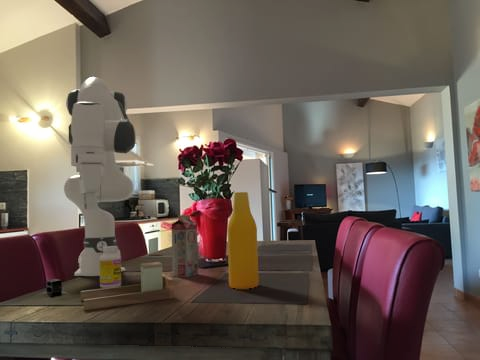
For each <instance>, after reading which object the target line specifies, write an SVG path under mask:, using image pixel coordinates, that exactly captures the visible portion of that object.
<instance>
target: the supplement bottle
mask: <svg viewBox="0 0 480 360" xmlns="http://www.w3.org/2000/svg"><path fill="white" fill-rule="evenodd" d="M118 249H119V246H117V245H115V246H106V247H103V252H104V254H103V255H102V256H101V257H100V276H99V286H100V289H103V288H111V287H119V286H122V271H121V267H122V255H121V254H120V255H119V254H118V253H117V251H118Z"/></svg>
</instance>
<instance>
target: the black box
mask: <svg viewBox="0 0 480 360" xmlns="http://www.w3.org/2000/svg"><path fill="white" fill-rule="evenodd" d="M62 287H63V283H62V280H61V279H57V278H54V279H48V280H46V287H45V289H46V291H45V292H39V293H38V294H39V295H41V296H44V297H48V298H51V299H52V298H56V297H55V296H57V297H61V295H62V296H66V295H65V294H67V295H69V294H68V292H64V291H63V288H62Z"/></svg>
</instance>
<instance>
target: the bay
mask: <svg viewBox="0 0 480 360" xmlns="http://www.w3.org/2000/svg"><path fill="white" fill-rule="evenodd" d="M162 277H163V289H161V290H153V291H145V292H141V283H139V284H138V283H137V284H129V285H120V286H118V287H111V288H96V289H87V290H80V302H83V311H90V310H97V309H105V308H112V307H118V306H127V305H131V304H140V303H146V302H149V303H150V302H155V301H160V300H161V301H162V300H170V299H174V298H175V280H174V279H173V278H172V277H170V276H168V275H167V274H164V272H162Z"/></svg>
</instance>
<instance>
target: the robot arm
mask: <svg viewBox="0 0 480 360" xmlns="http://www.w3.org/2000/svg"><path fill="white" fill-rule="evenodd" d="M65 106H66V109H67V112H68V114H69V115H70V116H71V121H70V122H71V123H70V124H69V125H68V143H69V144H70V145H71V147H70V163H71V165H70V166H72V167H75V169H76V170H75V171H76V173H79V174H77V175H76V174H75V175H72V176H71V175H70V176H69V177H68V178H67V179H66V181H65V183H64V185H63V186H64V187H63V191H64V192H63V193H64V195H65V197H66V198H67V199H68V200H69V201H70V202H71V203H74V205H76V206H77V208H78V209H79V211H80V212H81V214H82V217H83V222H84V238H83V248H84V249H83V250H82V251H81V253H79V254H80V255H79V256H78V261H77V262H78V263H77V264H78V267H79V268H78V269H77V270H76V271H75V272H74V275H73V277H74V276H75V277H80V276H81V277H82V276H83V277H100V257H101V256H102V255H103V254H104V252H103V247H106V246H117V239H116V238H117V236H116V235H115V233H116V231H115V229H116V227H115V226H116V225H115V224H116V223H115V217H114V215H113V214H112V213H111V212H109V211H106V210H104V209H102V208H100V207H99V205H98V203H105V202H106V203H107V202H109V203H110V202H120V201H121V202H122V201H126V200H129V199H130V197H131V196H132V195H133V192H134V184H133V181H132V179H131V178H130V177H129V176H128V175H126V174H125V173H124V172H122V170H121V169H120V168H119V166H118V164H117V162H116V158H115V153H117V154H128V153H129V152H130V151H132V150H133V149H134V148H135V146H136V141H137V134H136V129H135V128H134V124H133V123H132V122H131V121H130V119H129V117H128V115H127V110H128V102H127V98H126V97H125V95H124V93H122V92H119V91H111V89H110V86H109V85H108V83H107V82H106V81H105V80H104V79H103V78H100V77H97V76H96V77H94V76H92V77H88V78H86V79H85V80H84V81H83V83H82V84H81V85H80V87H79V89H78V88H76V89H75V90H71V91H70V92H69V93H68V94H67V97H66V101H65ZM117 253H118V254H119V255H120V256H121V250H120V249H119V248H118V251H117ZM125 271H126V267H122V266H121V272H125Z"/></svg>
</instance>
